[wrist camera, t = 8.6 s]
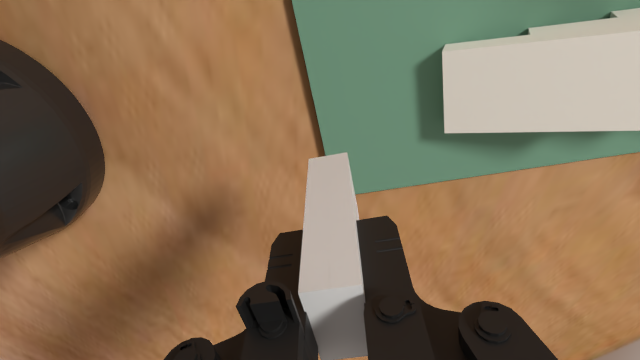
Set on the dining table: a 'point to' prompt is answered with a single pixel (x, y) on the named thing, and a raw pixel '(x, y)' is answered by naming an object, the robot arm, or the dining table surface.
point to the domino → (544, 82)
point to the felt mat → (427, 87)
